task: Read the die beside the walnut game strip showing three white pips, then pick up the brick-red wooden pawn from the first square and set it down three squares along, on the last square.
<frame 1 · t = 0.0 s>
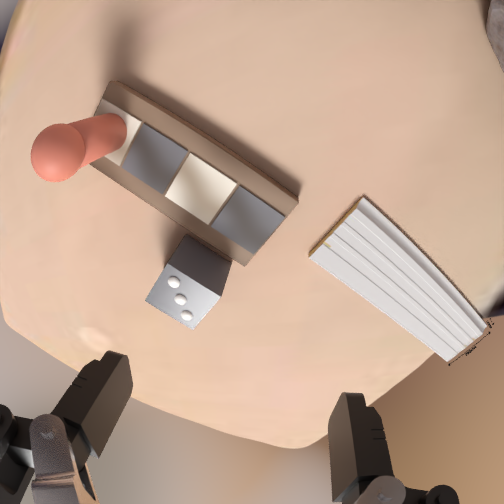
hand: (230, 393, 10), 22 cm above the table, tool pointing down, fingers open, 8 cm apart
pawn: (110, 132, 26), point 2 cm above the table, touching game strip
die: (196, 266, 35), on the table
baseboard: (421, 289, 34), on the table
game strip: (181, 169, 29), on the table
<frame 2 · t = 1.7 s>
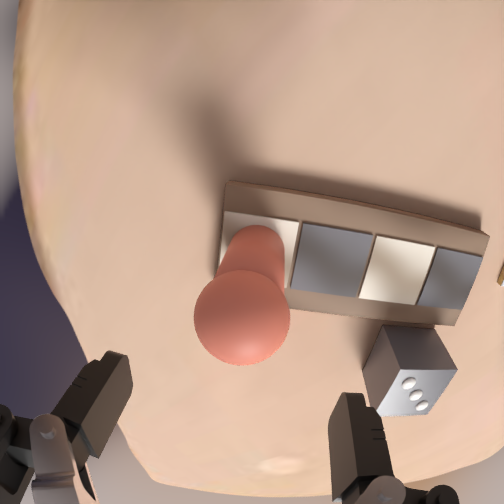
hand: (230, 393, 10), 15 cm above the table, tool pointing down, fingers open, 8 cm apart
pawn: (256, 251, 22), point 2 cm above the table, touching game strip
die: (398, 351, 27), on the table
game strip: (361, 258, 23), on the table
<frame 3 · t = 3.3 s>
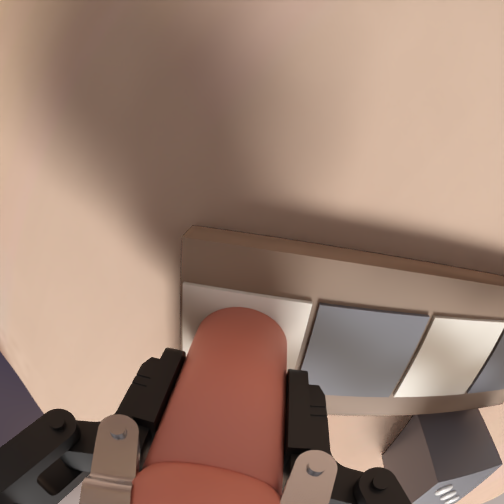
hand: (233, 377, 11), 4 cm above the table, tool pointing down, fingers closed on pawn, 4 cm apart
pawn: (240, 345, 13), point 2 cm above the table, touching game strip, gripper
die: (429, 433, 17), on the table
game strip: (401, 340, 14), on the table
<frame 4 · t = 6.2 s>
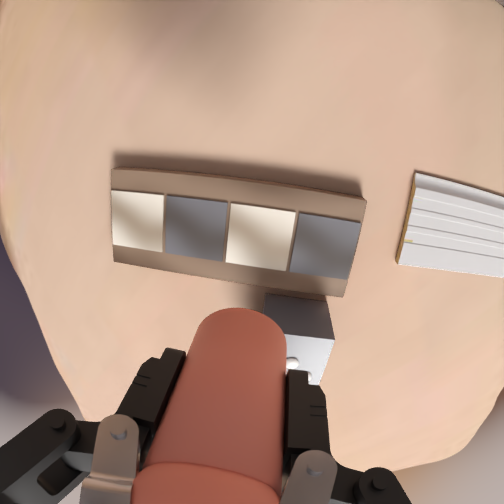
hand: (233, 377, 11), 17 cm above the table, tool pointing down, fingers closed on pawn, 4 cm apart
pawn: (240, 345, 13), point 15 cm above the table, touching gripper
die: (291, 322, 30), on the table
game strip: (229, 227, 27), on the table
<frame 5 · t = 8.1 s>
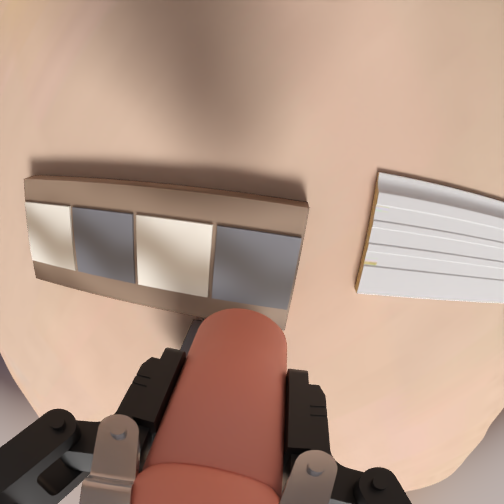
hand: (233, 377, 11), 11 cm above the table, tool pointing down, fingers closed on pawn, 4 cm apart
pawn: (240, 346, 13), point 9 cm above the table, touching gripper
game strip: (144, 242, 22), on the table
when the fingers open (5 cm above the table, at t = 9.5 s): pawn drops 1 cm, resting on game strip.
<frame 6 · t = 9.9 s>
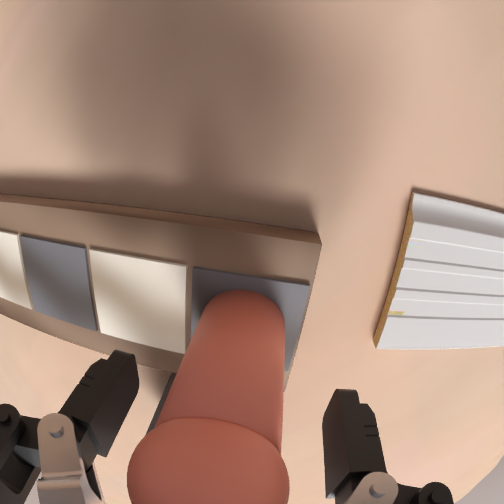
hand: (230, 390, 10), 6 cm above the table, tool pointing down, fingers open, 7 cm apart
pawn: (242, 326, 14), point 2 cm above the table, touching game strip
die: (216, 407, 19), on the table
game strip: (106, 279, 16), on the table
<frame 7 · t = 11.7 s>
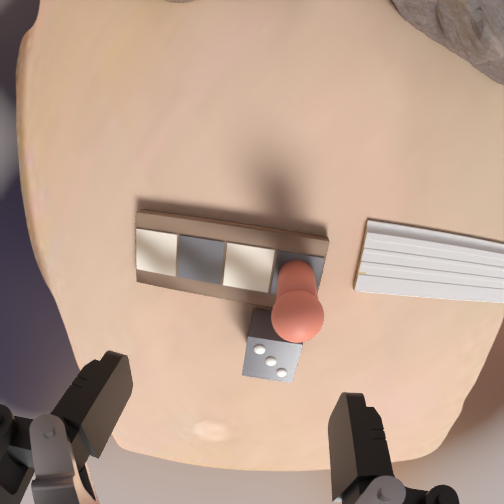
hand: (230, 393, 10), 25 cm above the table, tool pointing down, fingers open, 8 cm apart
pawn: (296, 276, 34), point 2 cm above the table, touching game strip
die: (273, 331, 39), on the table
baseboard: (461, 260, 33), on the table
game strip: (226, 258, 36), on the table
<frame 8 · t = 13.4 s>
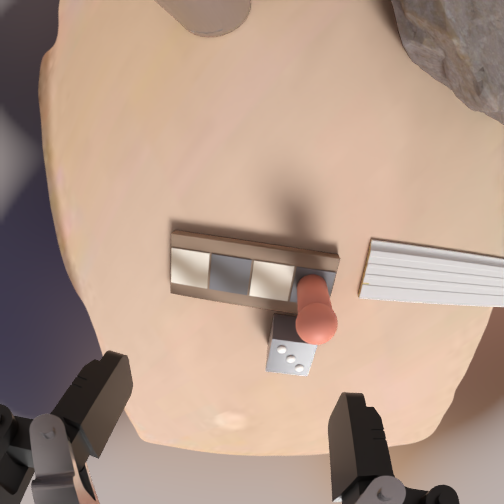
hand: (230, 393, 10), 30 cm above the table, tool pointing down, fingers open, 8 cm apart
pawn: (311, 287, 40), point 2 cm above the table, touching game strip
stone: (451, 2, 24), on the table
die: (290, 332, 45), on the table
baseboard: (451, 271, 40), on the table
game strip: (251, 272, 42), on the table
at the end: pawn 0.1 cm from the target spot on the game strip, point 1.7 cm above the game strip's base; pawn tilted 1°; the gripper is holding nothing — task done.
